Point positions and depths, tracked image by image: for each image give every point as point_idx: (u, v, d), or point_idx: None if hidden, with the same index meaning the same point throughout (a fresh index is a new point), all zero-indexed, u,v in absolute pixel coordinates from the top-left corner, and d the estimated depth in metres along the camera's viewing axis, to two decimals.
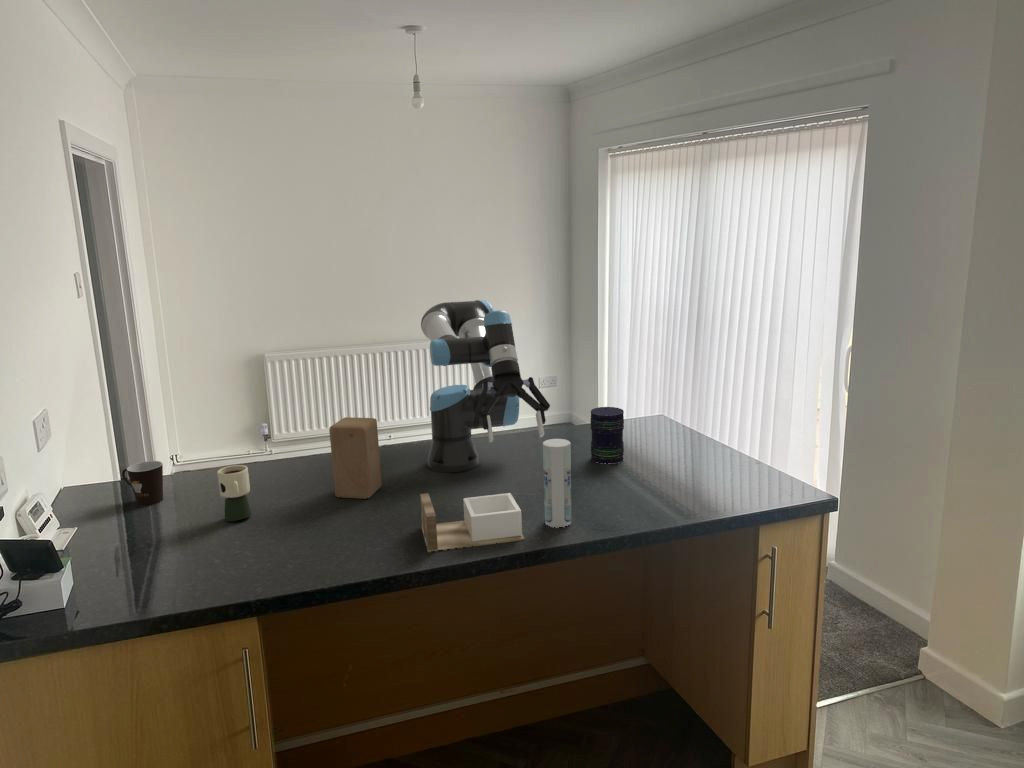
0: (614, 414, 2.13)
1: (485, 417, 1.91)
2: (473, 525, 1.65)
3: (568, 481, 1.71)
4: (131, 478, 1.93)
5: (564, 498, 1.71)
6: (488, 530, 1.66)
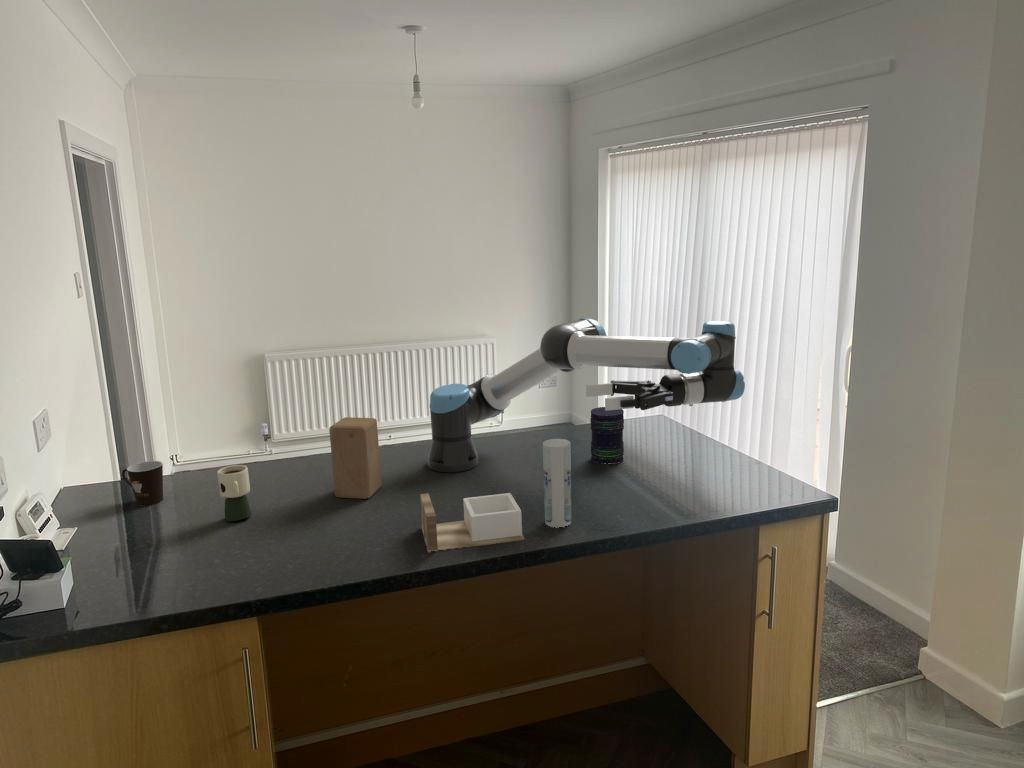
0: (614, 414, 2.13)
1: None
2: (473, 525, 1.65)
3: (568, 481, 1.71)
4: (131, 478, 1.93)
5: (564, 498, 1.71)
6: (488, 530, 1.66)
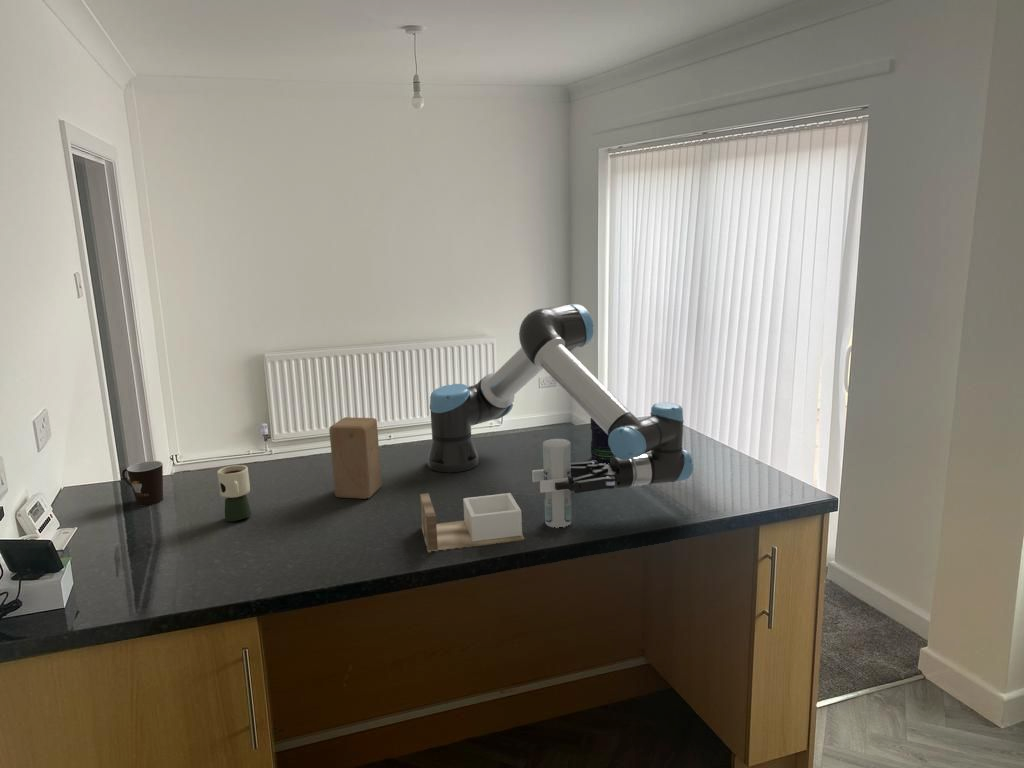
0: None
1: None
2: (473, 525, 1.65)
3: None
4: (131, 478, 1.93)
5: (564, 498, 1.71)
6: (488, 530, 1.66)
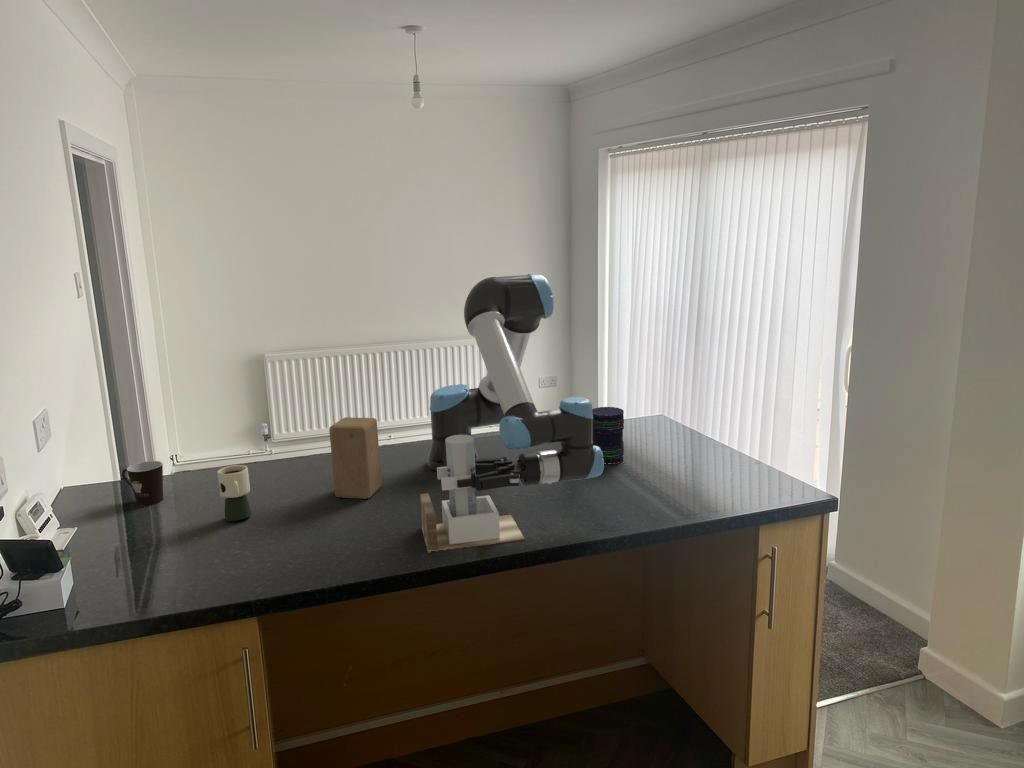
0: (614, 414, 2.13)
1: None
2: (450, 528, 1.63)
3: None
4: (131, 478, 1.93)
5: (467, 496, 1.65)
6: (465, 533, 1.64)
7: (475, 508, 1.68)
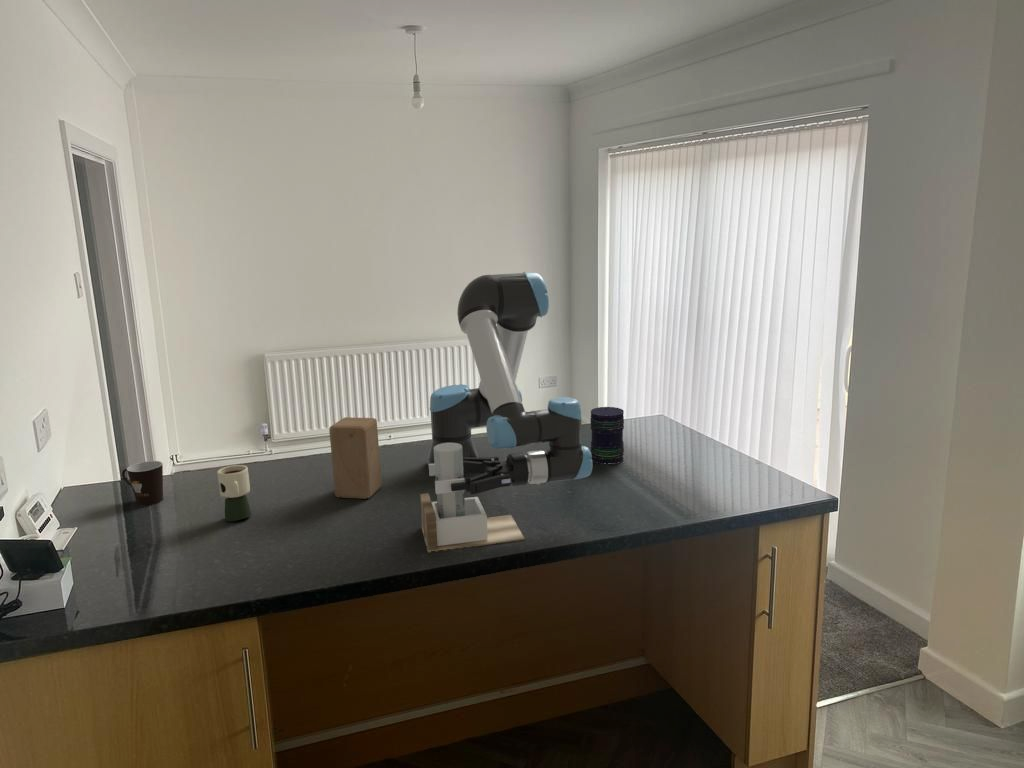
0: (614, 414, 2.13)
1: None
2: (437, 529, 1.63)
3: None
4: (131, 478, 1.93)
5: (455, 504, 1.65)
6: (453, 534, 1.64)
7: None
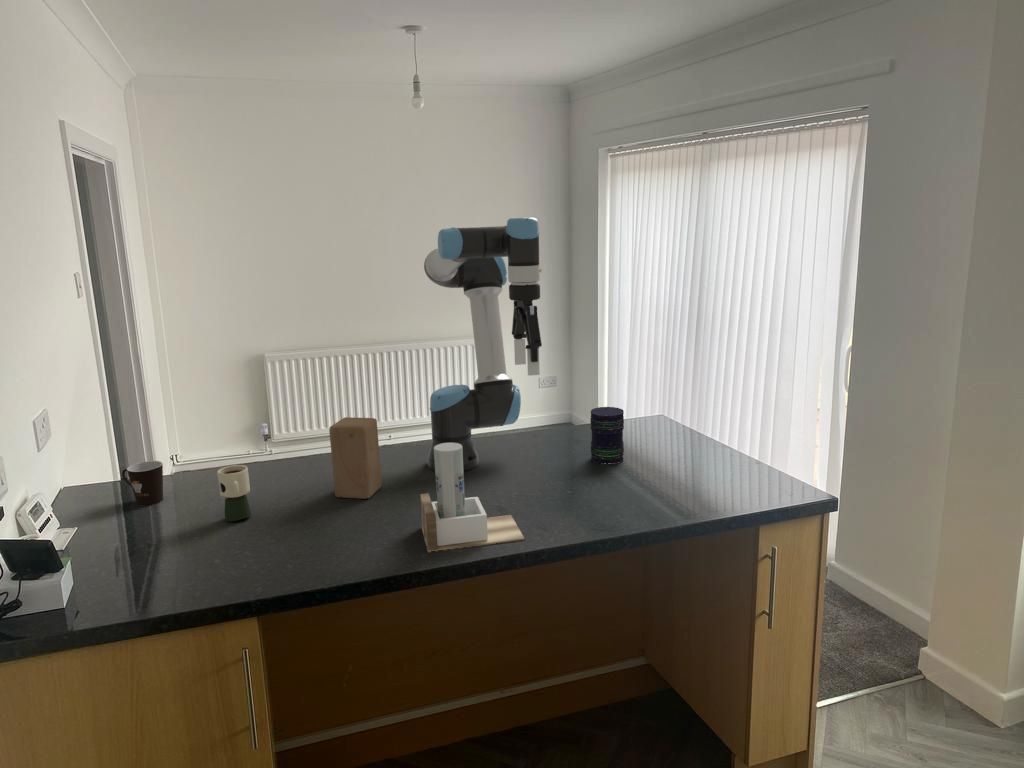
0: (614, 414, 2.13)
1: None
2: (438, 529, 1.63)
3: (460, 486, 1.65)
4: (131, 478, 1.93)
5: (455, 504, 1.65)
6: (453, 534, 1.64)
7: None
